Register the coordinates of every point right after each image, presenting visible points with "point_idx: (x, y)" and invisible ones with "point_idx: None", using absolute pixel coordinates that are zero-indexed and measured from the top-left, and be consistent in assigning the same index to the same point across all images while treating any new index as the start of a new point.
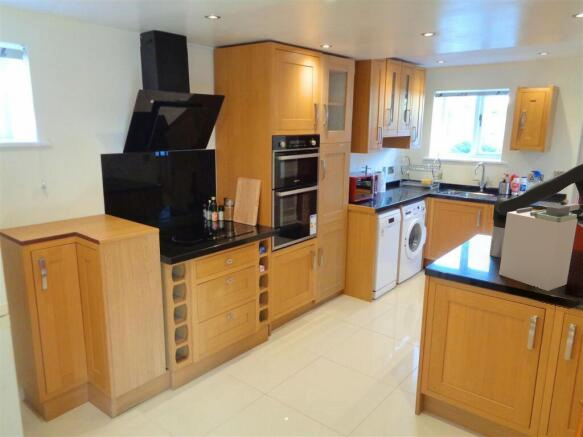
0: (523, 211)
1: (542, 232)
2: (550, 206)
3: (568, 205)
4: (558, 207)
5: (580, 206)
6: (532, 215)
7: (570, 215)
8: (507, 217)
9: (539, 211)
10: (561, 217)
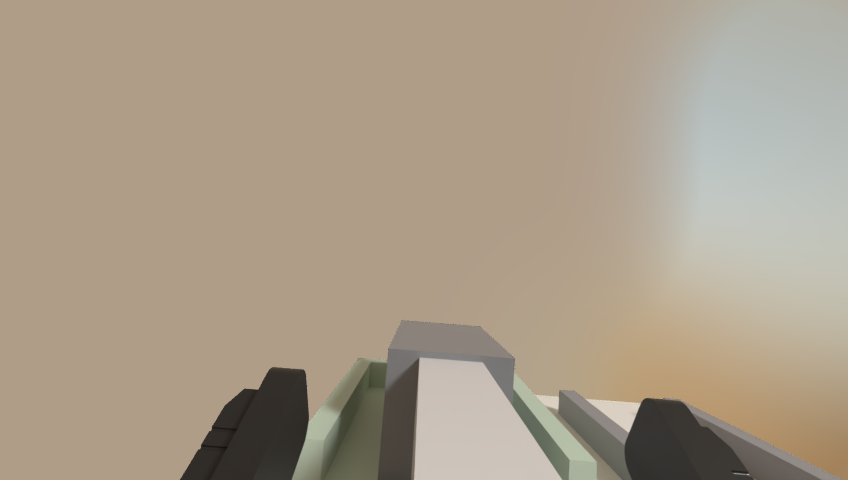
0: None
1: None
2: (472, 328)
3: (447, 377)
4: (422, 327)
5: (305, 404)
6: (559, 414)
7: (335, 398)
8: None
9: (596, 423)
10: (357, 363)
